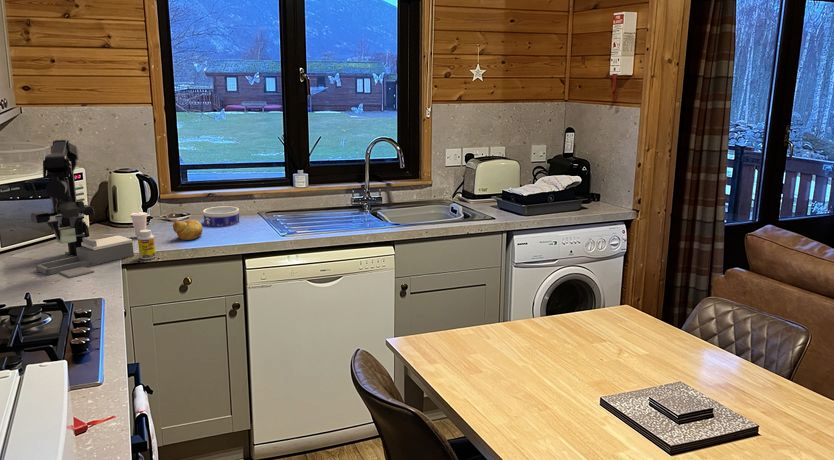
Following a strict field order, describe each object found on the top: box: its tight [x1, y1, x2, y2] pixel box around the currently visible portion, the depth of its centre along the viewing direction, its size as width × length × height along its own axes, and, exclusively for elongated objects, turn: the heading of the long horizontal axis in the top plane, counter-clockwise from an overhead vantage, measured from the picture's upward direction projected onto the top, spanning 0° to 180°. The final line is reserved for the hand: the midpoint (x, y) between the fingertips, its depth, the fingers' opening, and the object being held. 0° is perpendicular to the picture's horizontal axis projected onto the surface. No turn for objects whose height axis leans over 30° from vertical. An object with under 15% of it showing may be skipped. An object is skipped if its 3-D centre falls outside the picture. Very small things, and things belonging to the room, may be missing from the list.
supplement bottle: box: [137, 229, 157, 260], centre depth 249 cm, size 6×6×10 cm
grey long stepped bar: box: [35, 241, 135, 276], centre depth 243 cm, size 9×30×5 cm, turn 140°
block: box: [56, 227, 76, 245], centre depth 232 cm, size 4×4×4 cm
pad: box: [59, 266, 95, 279], centre depth 232 cm, size 8×8×1 cm
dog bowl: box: [202, 205, 240, 227], centre depth 303 cm, size 15×15×6 cm
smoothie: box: [130, 202, 148, 239], centre depth 278 cm, size 6×6×14 cm
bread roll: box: [172, 219, 203, 241], centre depth 278 cm, size 13×10×8 cm
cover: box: [81, 235, 133, 250], centre depth 248 cm, size 10×14×3 cm
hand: (66, 238), depth 232 cm, fingers closed on block, 4 cm apart
